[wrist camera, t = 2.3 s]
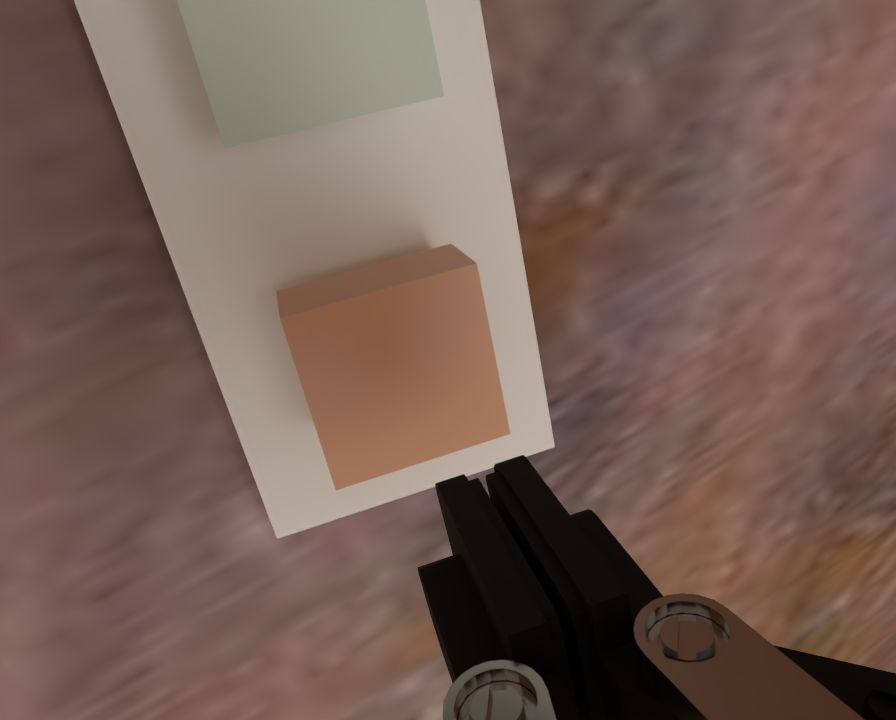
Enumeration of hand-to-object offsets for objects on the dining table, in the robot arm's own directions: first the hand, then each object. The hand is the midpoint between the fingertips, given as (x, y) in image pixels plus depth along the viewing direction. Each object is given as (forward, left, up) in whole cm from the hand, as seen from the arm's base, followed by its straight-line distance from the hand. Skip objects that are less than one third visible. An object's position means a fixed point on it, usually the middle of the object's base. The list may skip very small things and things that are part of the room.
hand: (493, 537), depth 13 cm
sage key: (-10, 0, -9) cm, 13 cm away
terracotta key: (-1, 0, -9) cm, 9 cm away
